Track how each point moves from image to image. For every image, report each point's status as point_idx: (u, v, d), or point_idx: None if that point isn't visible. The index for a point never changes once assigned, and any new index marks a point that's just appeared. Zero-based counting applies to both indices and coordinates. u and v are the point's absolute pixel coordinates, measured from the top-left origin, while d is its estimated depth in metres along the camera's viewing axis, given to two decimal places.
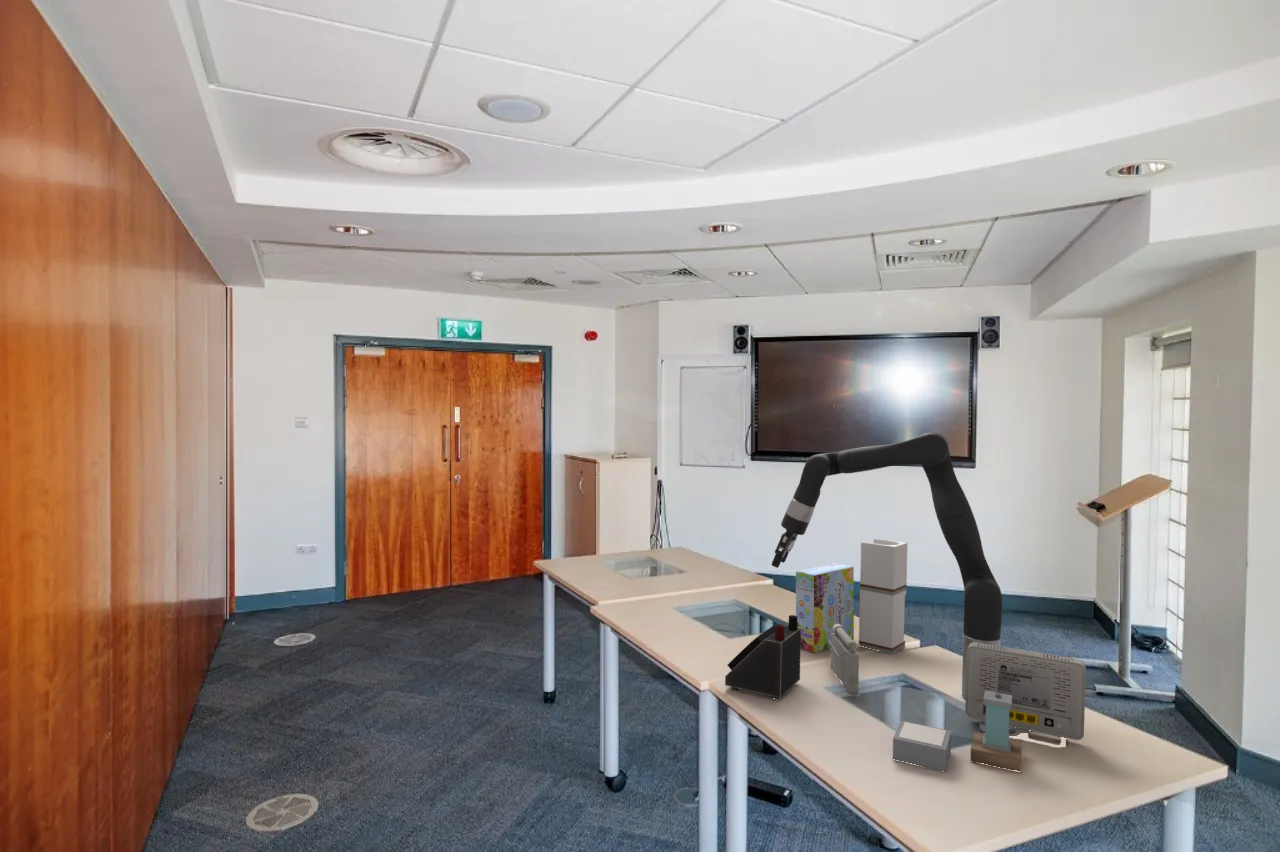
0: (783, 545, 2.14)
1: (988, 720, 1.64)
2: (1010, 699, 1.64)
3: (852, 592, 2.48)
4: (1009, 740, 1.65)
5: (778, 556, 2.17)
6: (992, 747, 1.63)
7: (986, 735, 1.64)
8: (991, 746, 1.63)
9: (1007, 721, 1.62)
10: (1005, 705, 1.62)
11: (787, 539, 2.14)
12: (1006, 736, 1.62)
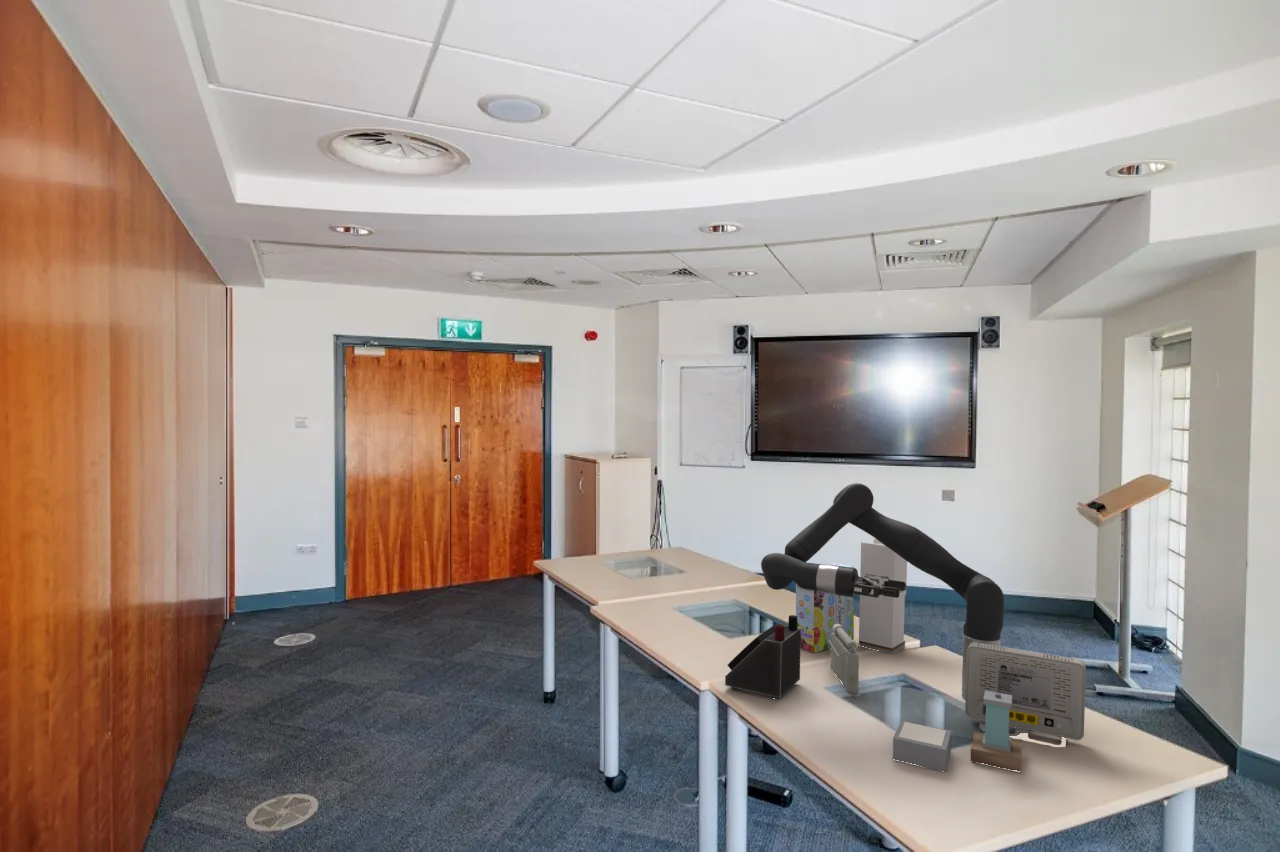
0: (864, 589, 1.79)
1: (988, 720, 1.64)
2: (1010, 699, 1.64)
3: None
4: (1009, 740, 1.65)
5: (883, 591, 1.78)
6: (992, 747, 1.63)
7: (986, 735, 1.64)
8: (991, 746, 1.63)
9: (1007, 721, 1.62)
10: (1005, 705, 1.62)
11: (856, 586, 1.80)
12: (1006, 736, 1.62)
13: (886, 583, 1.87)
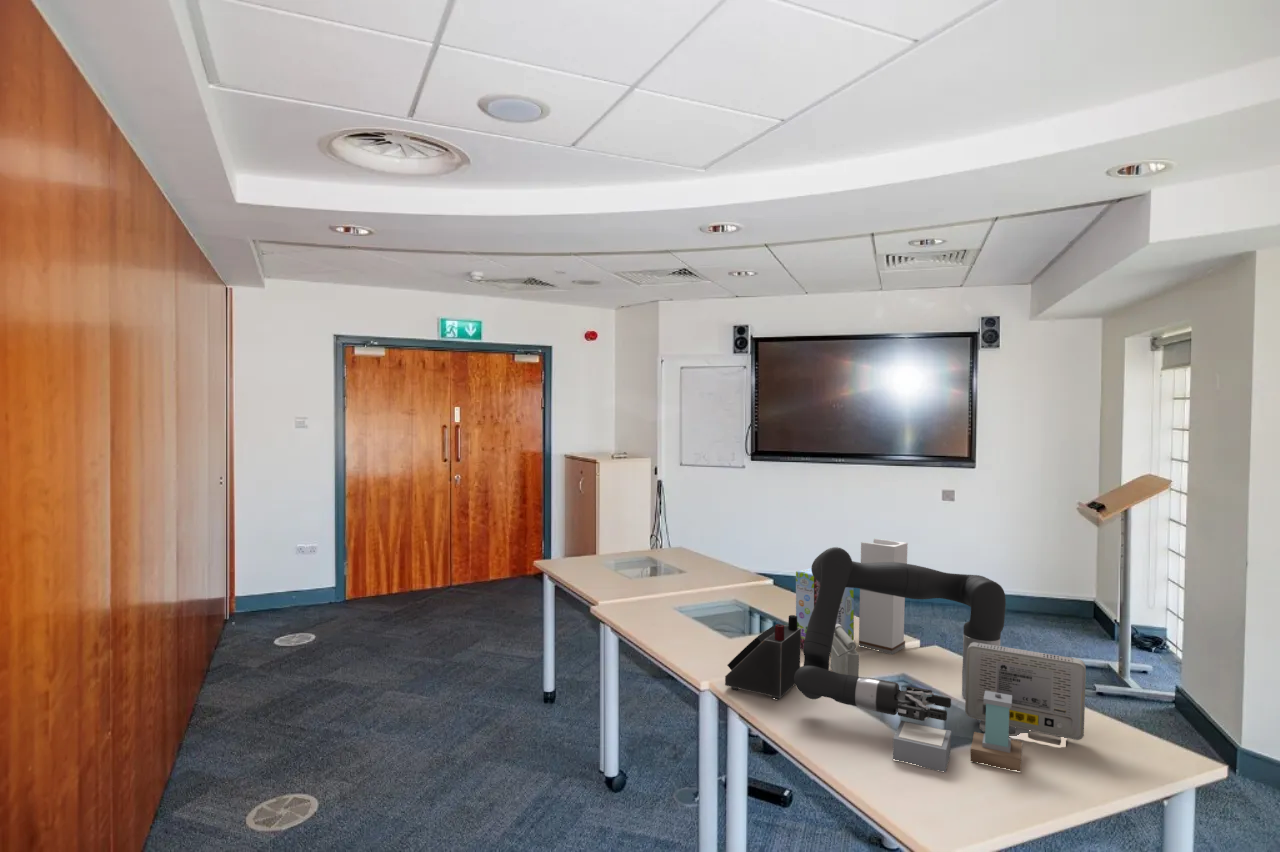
0: (909, 711, 1.67)
1: (988, 720, 1.64)
2: (1010, 699, 1.64)
3: (852, 592, 2.48)
4: (1009, 740, 1.65)
5: (929, 713, 1.67)
6: (992, 747, 1.63)
7: (986, 735, 1.64)
8: (991, 746, 1.63)
9: (1007, 721, 1.62)
10: (1005, 705, 1.62)
11: (900, 707, 1.69)
12: (1006, 736, 1.62)
13: (930, 698, 1.76)
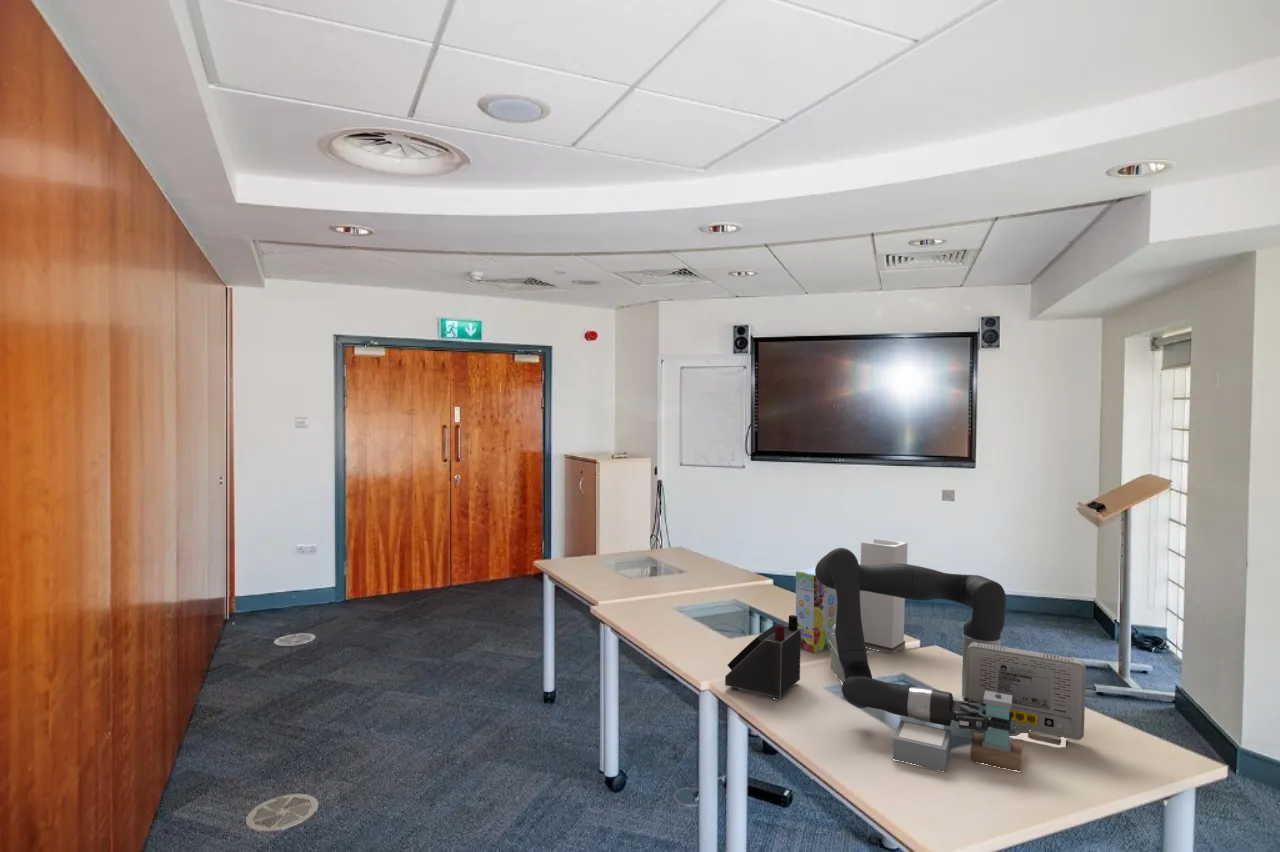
0: (972, 722, 1.62)
1: None
2: (1010, 699, 1.63)
3: None
4: (1009, 740, 1.65)
5: (992, 723, 1.62)
6: (992, 747, 1.63)
7: (986, 735, 1.64)
8: (991, 746, 1.63)
9: None
10: (1005, 705, 1.62)
11: (962, 719, 1.62)
12: (1006, 736, 1.62)
13: None
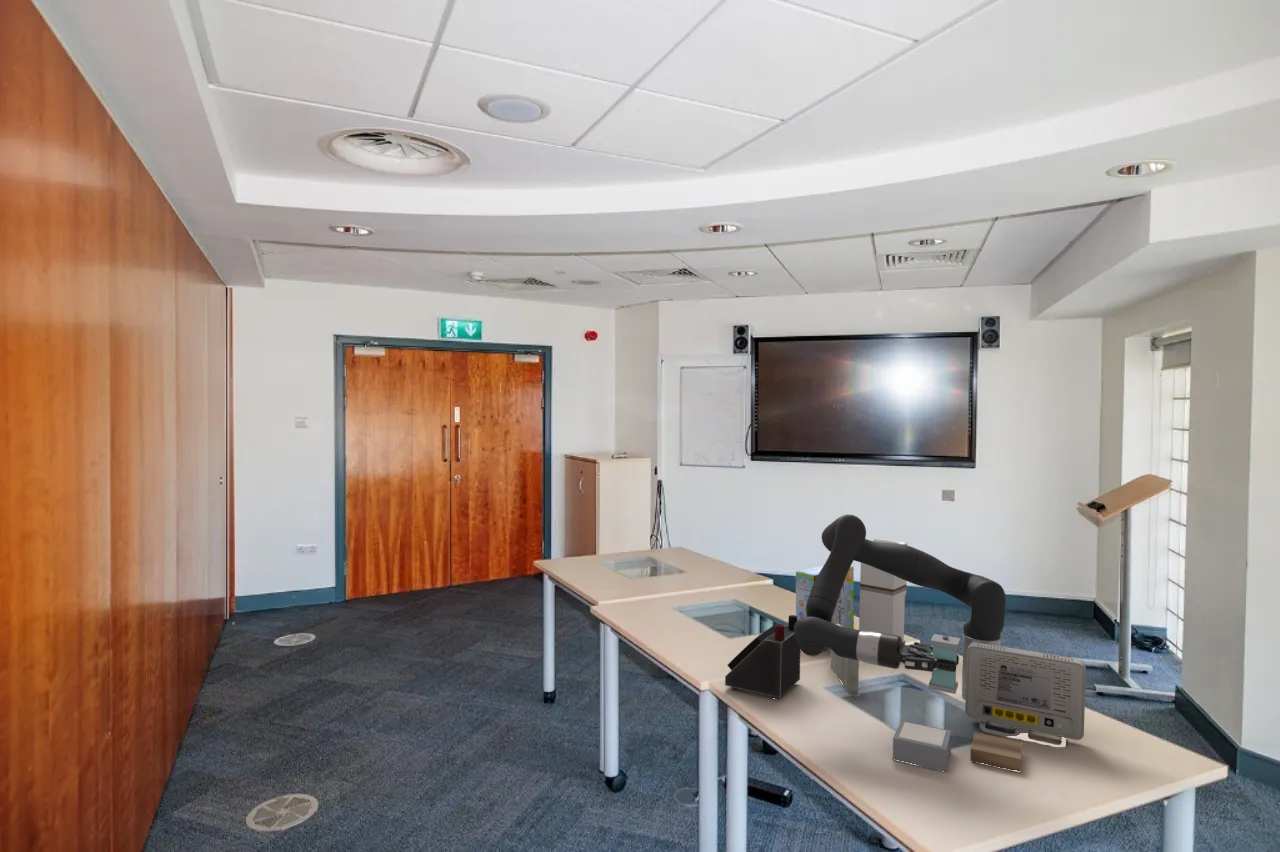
0: (918, 663, 1.62)
1: None
2: (957, 641, 1.63)
3: (852, 592, 2.48)
4: (956, 683, 1.65)
5: (938, 664, 1.62)
6: (938, 688, 1.63)
7: (932, 677, 1.64)
8: (937, 687, 1.63)
9: None
10: (951, 646, 1.61)
11: (908, 660, 1.62)
12: (952, 677, 1.62)
13: None
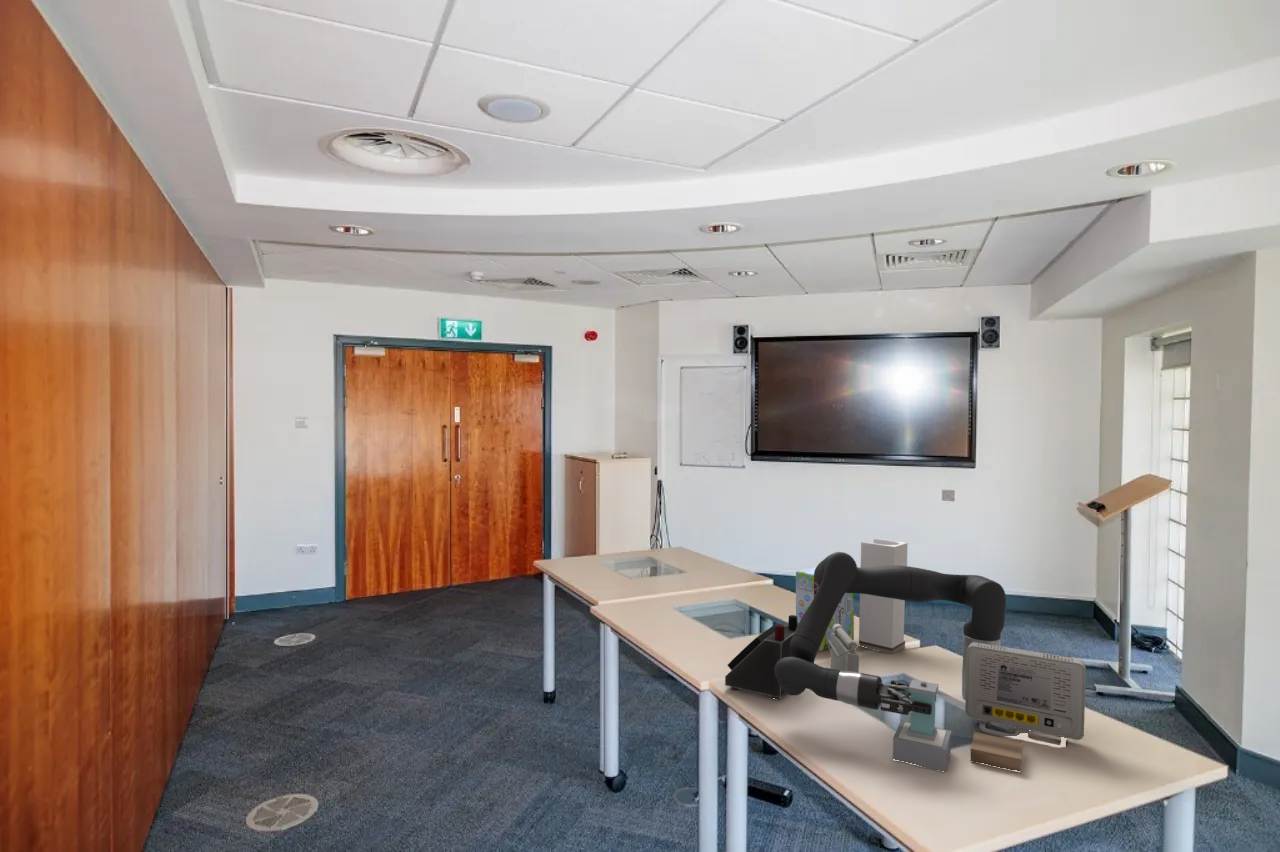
0: (893, 705, 1.62)
1: None
2: (935, 688, 1.64)
3: None
4: (935, 729, 1.66)
5: (913, 707, 1.62)
6: (917, 735, 1.63)
7: (911, 723, 1.64)
8: (916, 734, 1.63)
9: None
10: (929, 693, 1.62)
11: (883, 701, 1.63)
12: (930, 724, 1.62)
13: None
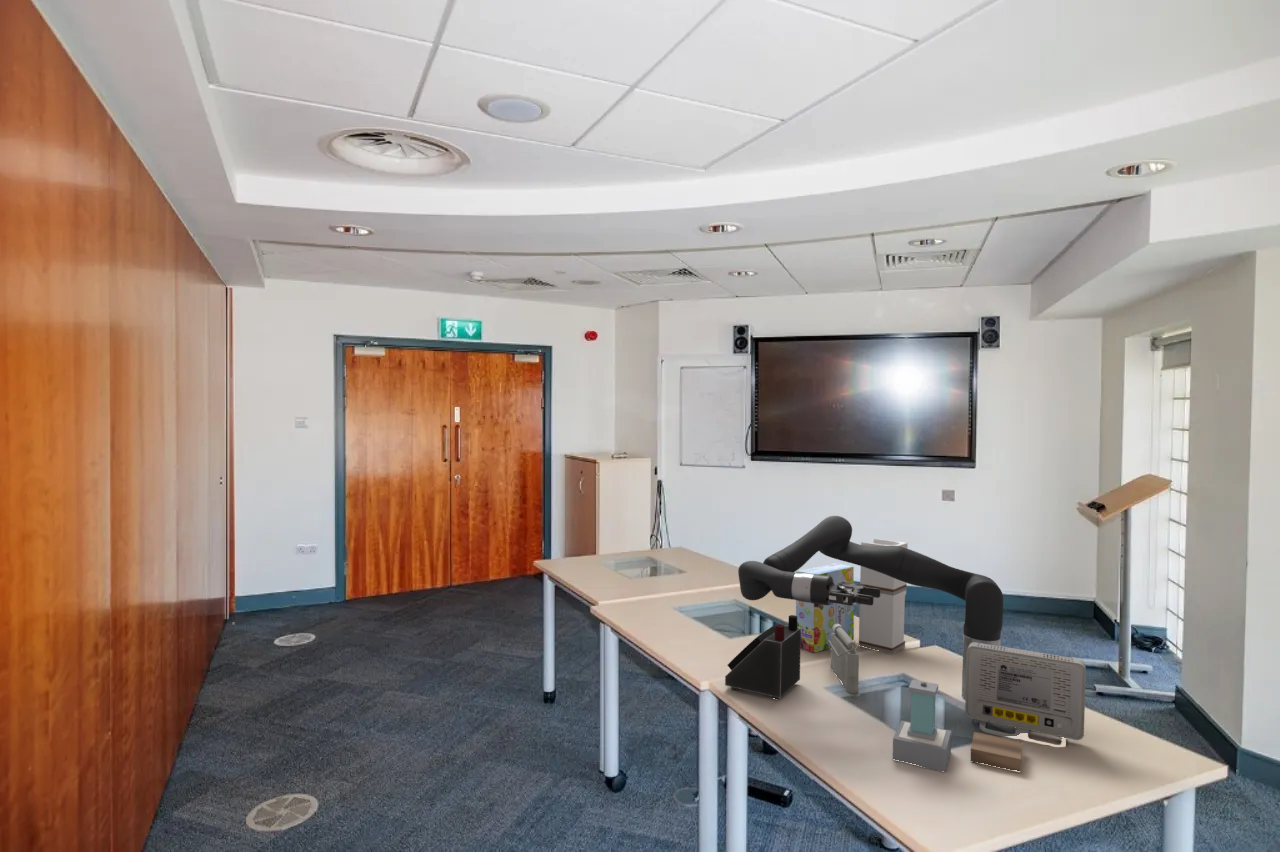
0: (839, 597, 1.79)
1: (913, 708, 1.64)
2: (935, 688, 1.64)
3: None
4: (935, 729, 1.66)
5: (857, 599, 1.79)
6: (917, 735, 1.63)
7: (911, 723, 1.64)
8: (916, 734, 1.63)
9: (931, 709, 1.62)
10: (929, 693, 1.62)
11: (830, 594, 1.80)
12: (930, 724, 1.62)
13: (861, 590, 1.87)
